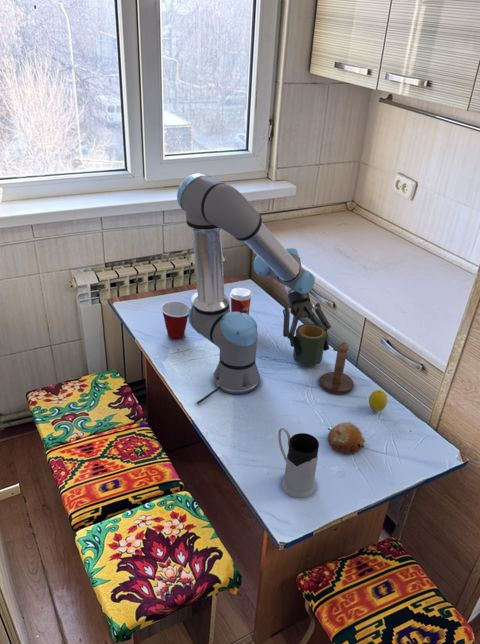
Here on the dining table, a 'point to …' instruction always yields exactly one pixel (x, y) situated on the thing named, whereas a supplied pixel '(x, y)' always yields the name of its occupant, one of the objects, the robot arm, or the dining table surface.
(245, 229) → the robot arm
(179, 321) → the plastic cup
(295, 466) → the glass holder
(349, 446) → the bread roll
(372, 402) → the lemon
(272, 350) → the dining table surface
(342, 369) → the peg stand
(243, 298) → the coffee cup
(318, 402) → the dining table surface
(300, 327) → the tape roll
